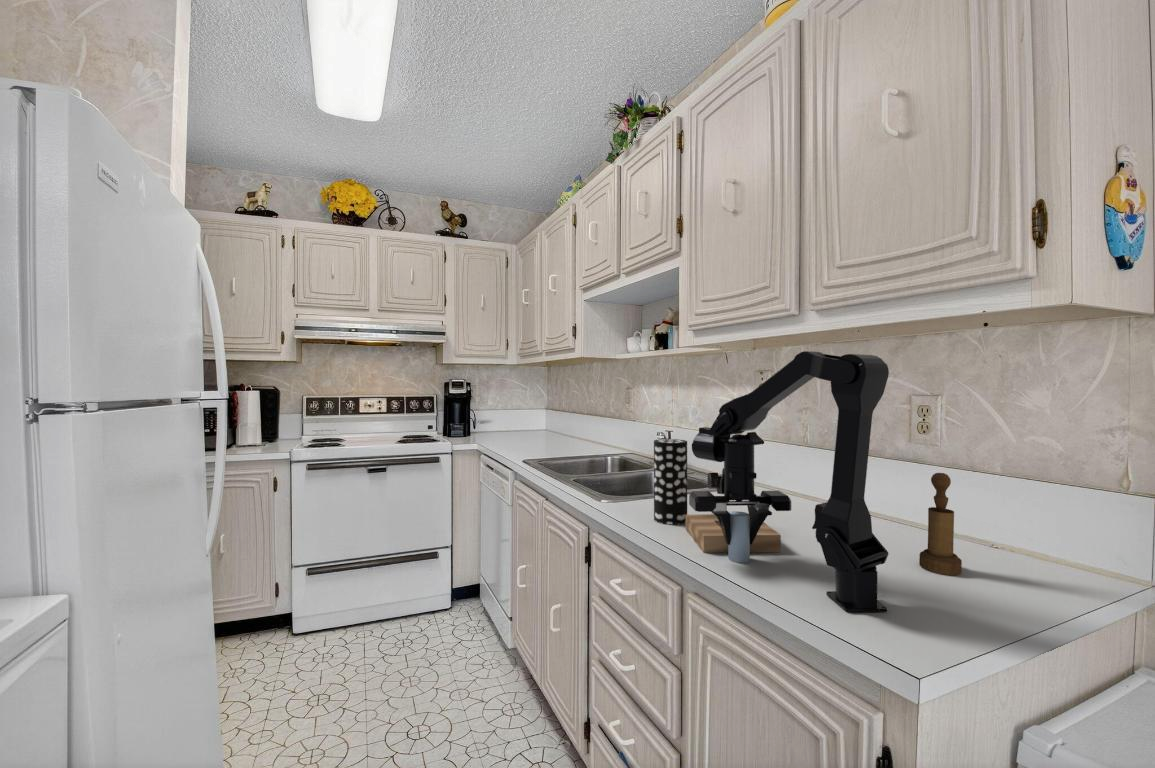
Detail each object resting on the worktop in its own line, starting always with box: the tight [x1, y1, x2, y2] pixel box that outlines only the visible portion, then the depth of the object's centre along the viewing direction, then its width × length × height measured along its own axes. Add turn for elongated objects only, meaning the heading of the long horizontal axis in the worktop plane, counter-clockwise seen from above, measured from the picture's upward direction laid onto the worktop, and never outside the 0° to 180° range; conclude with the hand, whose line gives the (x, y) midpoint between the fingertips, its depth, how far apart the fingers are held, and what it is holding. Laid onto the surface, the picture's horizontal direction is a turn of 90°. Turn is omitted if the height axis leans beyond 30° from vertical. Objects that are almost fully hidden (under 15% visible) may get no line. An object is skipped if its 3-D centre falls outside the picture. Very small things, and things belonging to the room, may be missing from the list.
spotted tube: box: [653, 438, 688, 526], centre depth 129 cm, size 8×8×20 cm
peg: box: [727, 511, 751, 564], centre depth 101 cm, size 4×4×9 cm
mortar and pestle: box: [918, 472, 963, 576], centre depth 96 cm, size 7×6×18 cm
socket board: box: [685, 513, 782, 554], centre depth 113 cm, size 16×16×4 cm
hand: (739, 544), depth 101 cm, fingers closed on peg, 4 cm apart
